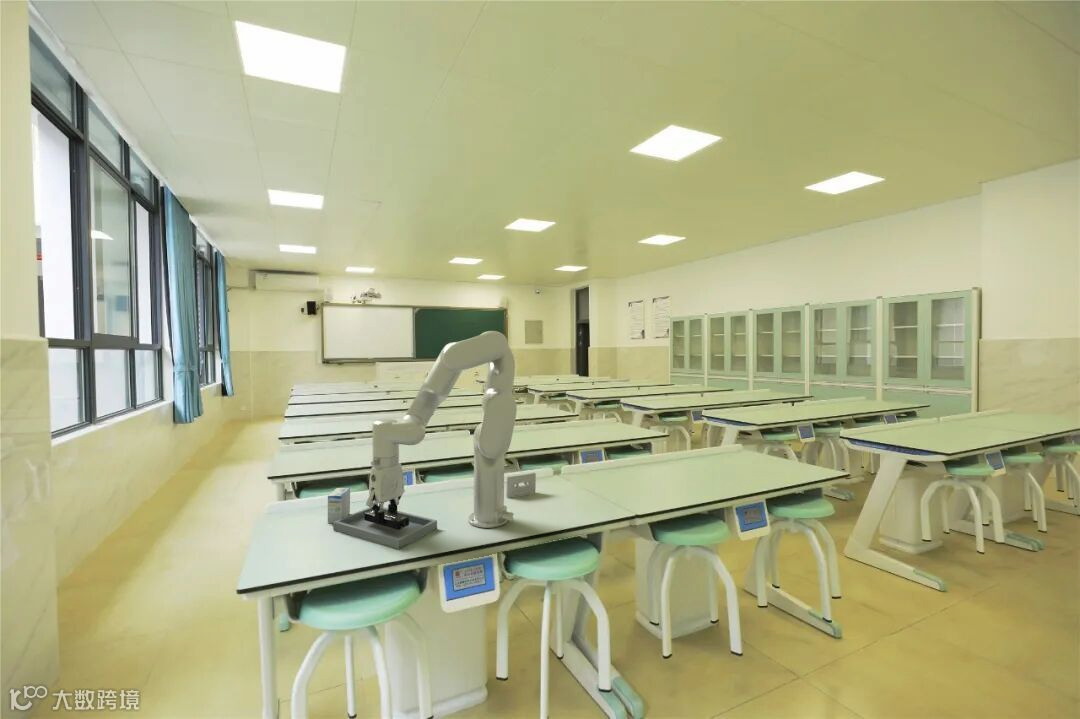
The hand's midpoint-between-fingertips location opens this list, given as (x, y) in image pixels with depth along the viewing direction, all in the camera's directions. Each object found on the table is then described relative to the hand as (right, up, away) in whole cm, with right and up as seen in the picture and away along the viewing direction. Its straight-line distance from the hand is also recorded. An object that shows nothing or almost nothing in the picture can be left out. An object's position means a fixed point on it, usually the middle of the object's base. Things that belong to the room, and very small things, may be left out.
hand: (386, 520), depth 140 cm
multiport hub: (0, -1, 0) cm, 1 cm away
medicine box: (-18, -2, +8) cm, 19 cm away
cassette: (+39, -2, +33) cm, 51 cm away
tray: (0, -3, 0) cm, 3 cm away
